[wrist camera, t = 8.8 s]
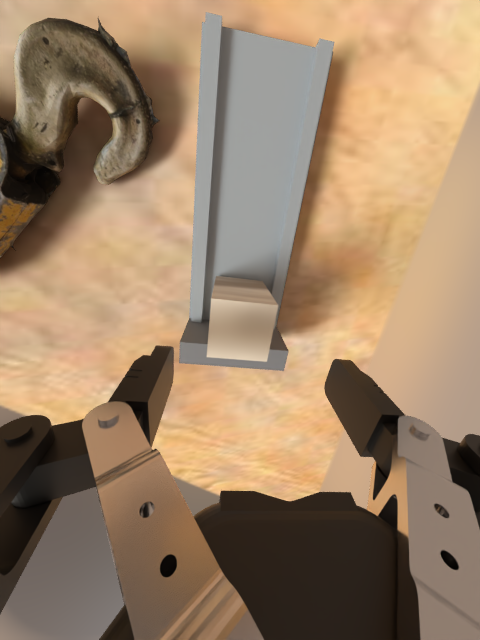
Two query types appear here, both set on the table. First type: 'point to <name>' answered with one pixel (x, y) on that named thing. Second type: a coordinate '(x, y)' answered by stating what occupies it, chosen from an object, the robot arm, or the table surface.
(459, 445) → the robot arm
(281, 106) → the rail
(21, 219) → the pulley block
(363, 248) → the table surface
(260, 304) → the block
